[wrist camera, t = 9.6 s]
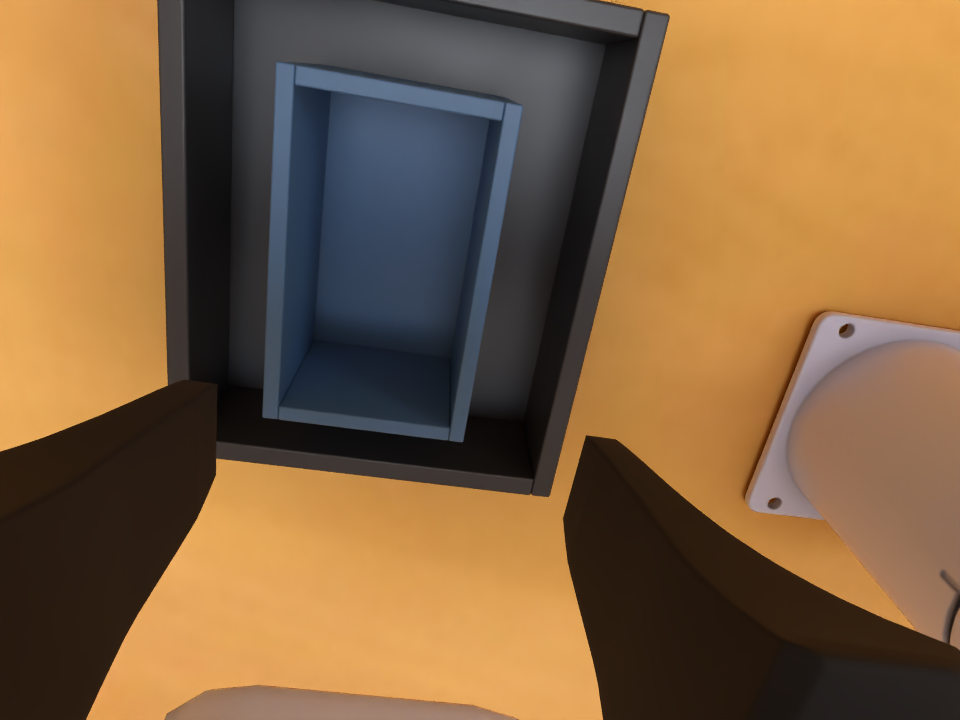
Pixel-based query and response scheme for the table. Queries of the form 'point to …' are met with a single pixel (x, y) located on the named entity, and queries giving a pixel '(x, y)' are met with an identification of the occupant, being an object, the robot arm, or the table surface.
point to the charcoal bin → (524, 235)
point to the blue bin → (381, 247)
